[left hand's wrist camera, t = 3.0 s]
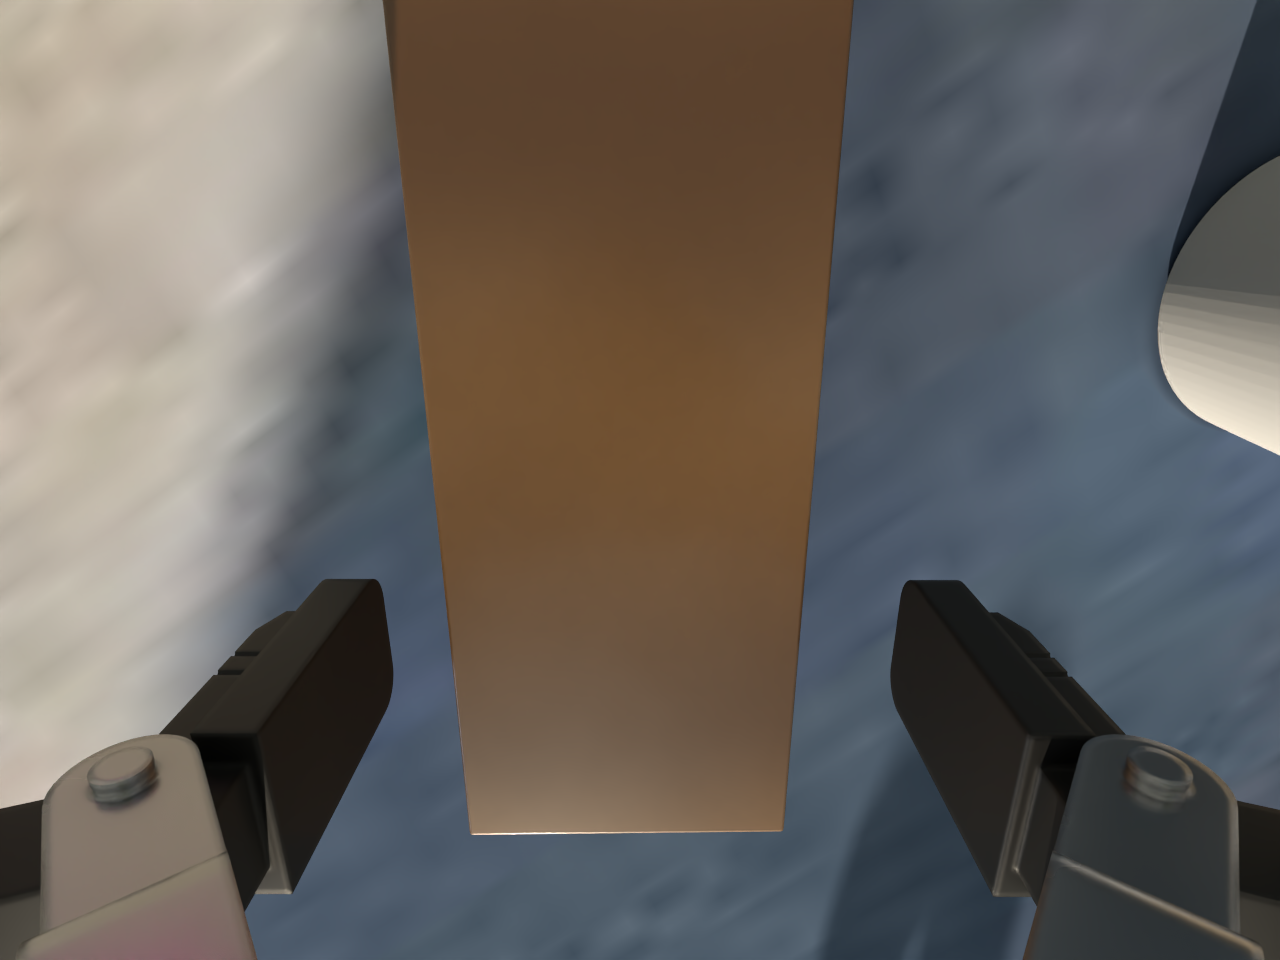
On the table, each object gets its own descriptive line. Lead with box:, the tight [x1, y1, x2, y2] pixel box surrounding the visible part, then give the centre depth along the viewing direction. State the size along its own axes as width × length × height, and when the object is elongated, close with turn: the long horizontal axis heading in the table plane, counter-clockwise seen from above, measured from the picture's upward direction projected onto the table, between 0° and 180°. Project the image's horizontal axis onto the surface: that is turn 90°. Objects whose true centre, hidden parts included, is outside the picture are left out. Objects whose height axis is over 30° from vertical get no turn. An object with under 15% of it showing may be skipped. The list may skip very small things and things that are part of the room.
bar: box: [383, 0, 854, 835], centre depth 12 cm, size 22×5×8 cm, turn 0°
